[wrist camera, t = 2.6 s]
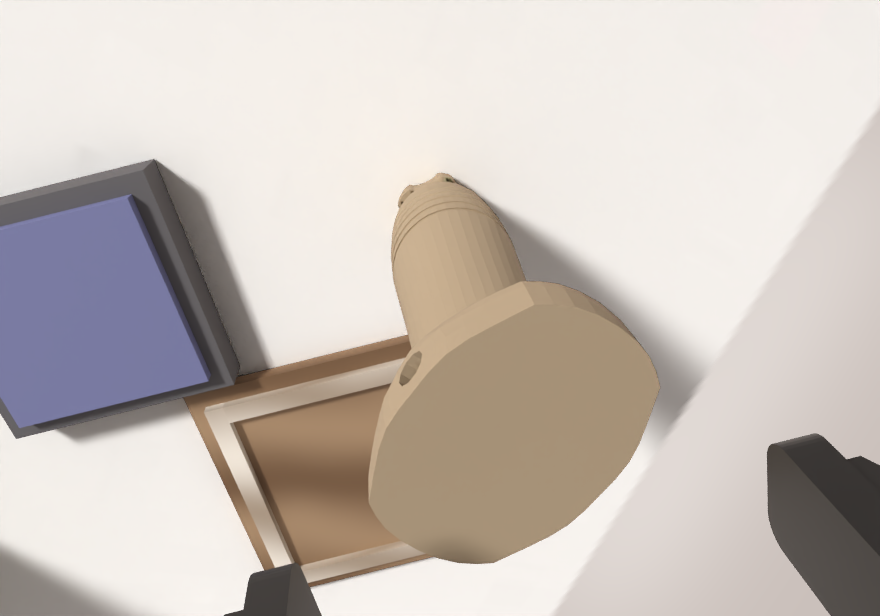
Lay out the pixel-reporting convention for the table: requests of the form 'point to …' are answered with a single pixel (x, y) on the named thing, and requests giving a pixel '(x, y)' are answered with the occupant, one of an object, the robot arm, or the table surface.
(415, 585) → the table surface
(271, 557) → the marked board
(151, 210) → the ink pad
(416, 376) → the handle
